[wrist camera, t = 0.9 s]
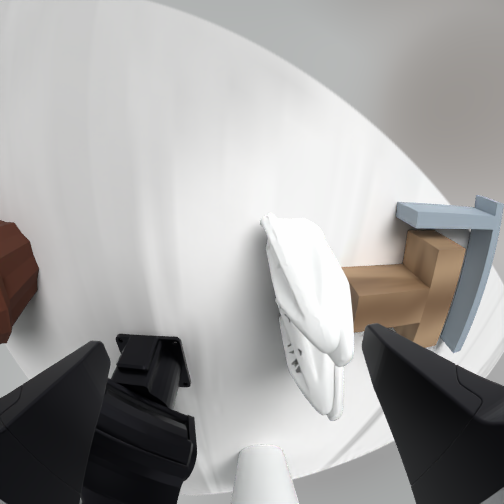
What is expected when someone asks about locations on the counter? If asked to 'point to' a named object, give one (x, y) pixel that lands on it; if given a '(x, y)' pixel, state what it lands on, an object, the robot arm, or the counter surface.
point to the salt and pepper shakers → (311, 310)
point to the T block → (409, 288)
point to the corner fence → (476, 261)
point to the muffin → (15, 276)
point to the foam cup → (263, 477)
